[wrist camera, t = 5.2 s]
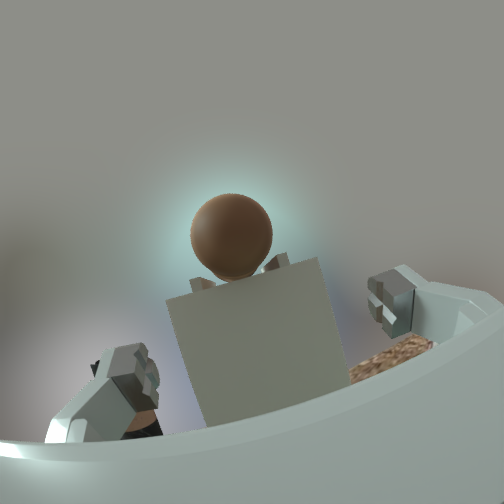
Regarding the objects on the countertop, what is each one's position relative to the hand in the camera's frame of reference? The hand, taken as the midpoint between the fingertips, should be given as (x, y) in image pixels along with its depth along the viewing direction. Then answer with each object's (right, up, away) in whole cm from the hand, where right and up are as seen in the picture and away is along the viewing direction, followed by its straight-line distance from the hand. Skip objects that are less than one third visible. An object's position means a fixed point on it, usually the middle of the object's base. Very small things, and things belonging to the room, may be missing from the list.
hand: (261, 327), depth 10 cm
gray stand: (+6, -25, +18) cm, 32 cm away
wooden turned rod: (-1, 0, +15) cm, 15 cm away
